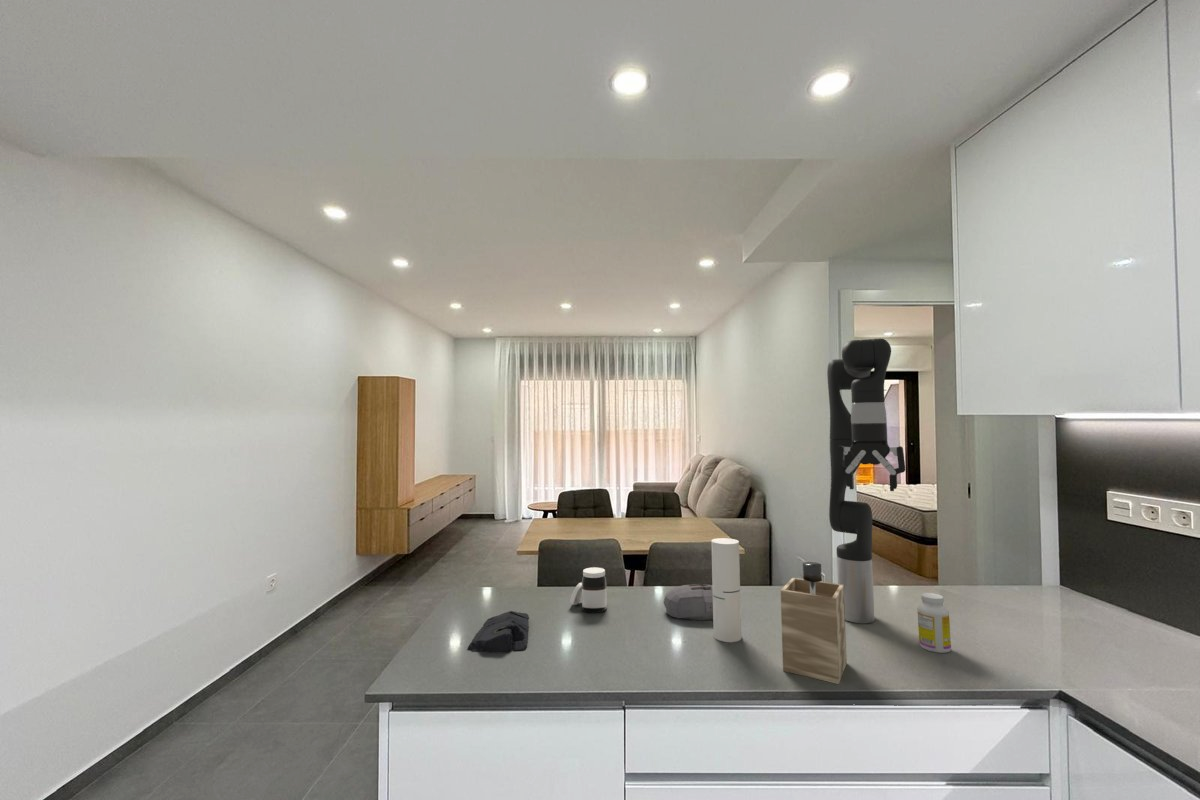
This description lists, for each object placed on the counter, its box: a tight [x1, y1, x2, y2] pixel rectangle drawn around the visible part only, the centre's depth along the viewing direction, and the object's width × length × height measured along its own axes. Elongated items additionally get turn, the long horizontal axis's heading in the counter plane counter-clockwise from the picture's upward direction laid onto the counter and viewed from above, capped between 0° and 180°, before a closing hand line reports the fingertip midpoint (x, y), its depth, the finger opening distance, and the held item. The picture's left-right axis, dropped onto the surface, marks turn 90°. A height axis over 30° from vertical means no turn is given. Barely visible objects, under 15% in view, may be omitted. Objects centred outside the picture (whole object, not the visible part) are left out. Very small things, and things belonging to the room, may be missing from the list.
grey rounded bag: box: [663, 583, 713, 621], centre depth 154 cm, size 15×8×20 cm
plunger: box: [802, 561, 823, 595], centre depth 119 cm, size 9×9×22 cm
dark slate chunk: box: [467, 610, 530, 654], centre depth 139 cm, size 15×22×5 cm
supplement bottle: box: [916, 592, 952, 654], centre depth 128 cm, size 7×7×13 cm
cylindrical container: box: [710, 537, 742, 643], centre depth 137 cm, size 7×7×25 cm
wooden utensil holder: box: [780, 577, 848, 685], centre depth 119 cm, size 12×12×18 cm
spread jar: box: [570, 566, 608, 613], centre depth 160 cm, size 12×11×12 cm
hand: (871, 489), depth 122 cm, fingers open, 8 cm apart
